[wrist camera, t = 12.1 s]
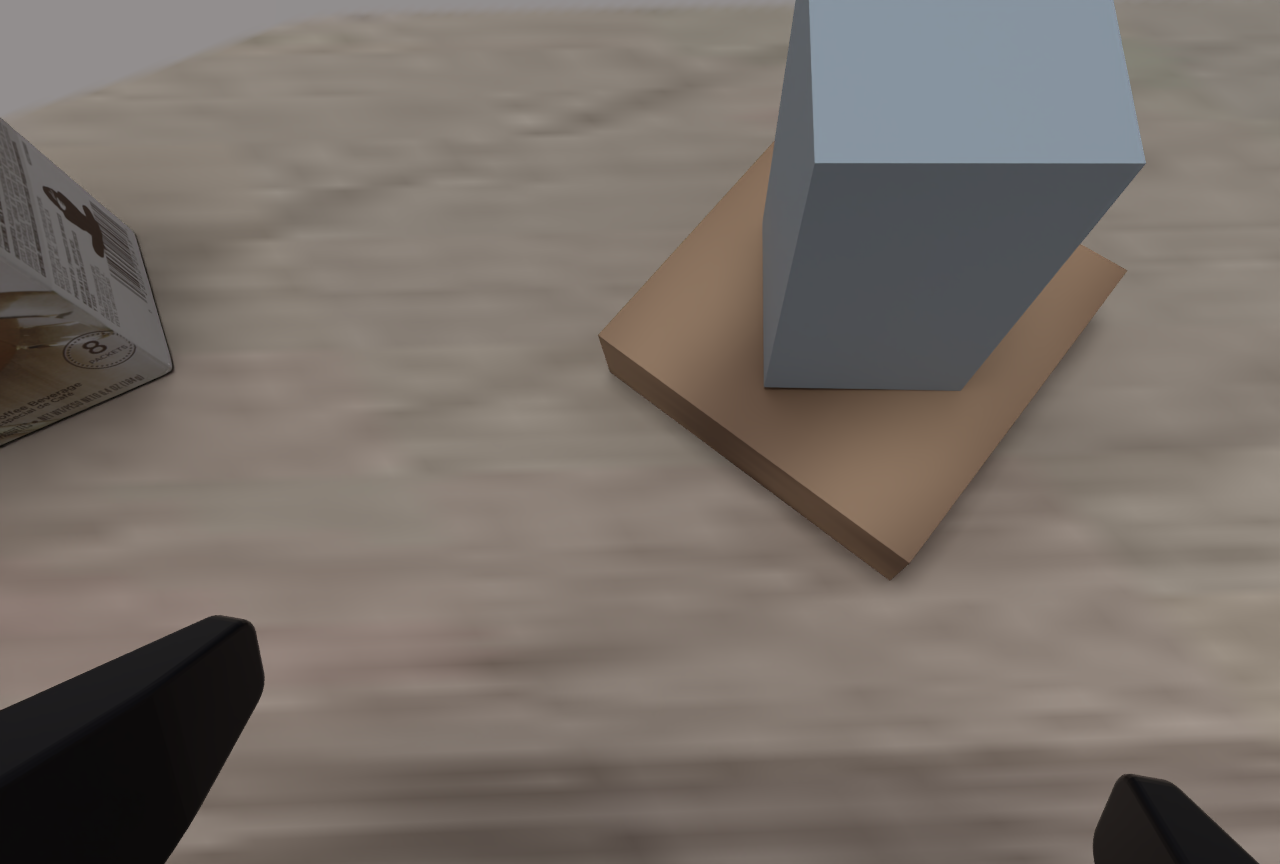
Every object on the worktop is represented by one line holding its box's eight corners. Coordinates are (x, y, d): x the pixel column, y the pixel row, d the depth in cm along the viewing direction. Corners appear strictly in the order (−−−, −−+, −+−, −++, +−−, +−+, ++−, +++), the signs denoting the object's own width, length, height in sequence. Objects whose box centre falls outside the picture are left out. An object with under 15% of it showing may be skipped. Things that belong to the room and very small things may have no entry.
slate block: (944, 223, 23) (1097, -77, 14) (960, 390, 21) (1146, 163, 13) (762, 222, 23) (806, -71, 15) (763, 387, 21) (814, 162, 13)
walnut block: (1081, 323, 24) (1127, 270, 22) (886, 583, 22) (909, 563, 20) (806, 160, 27) (815, 95, 25) (612, 378, 25) (597, 335, 23)
